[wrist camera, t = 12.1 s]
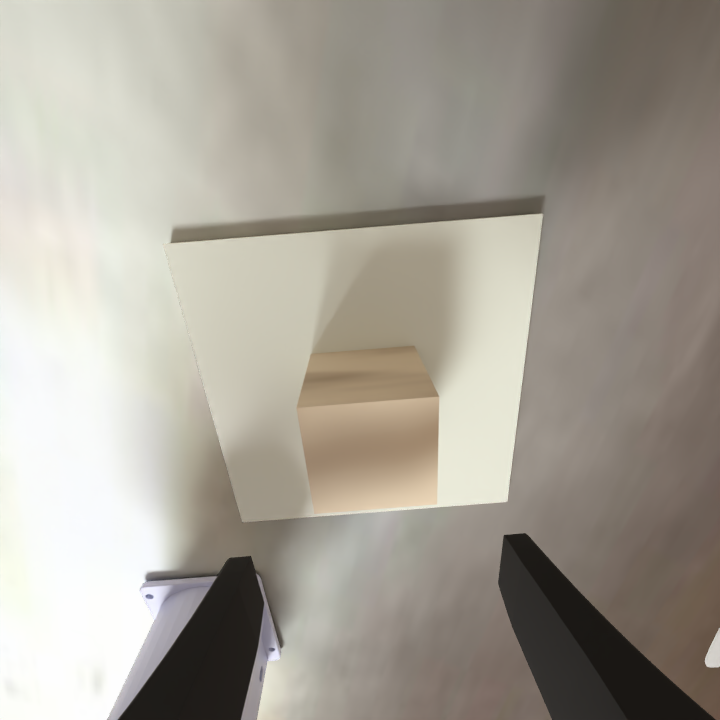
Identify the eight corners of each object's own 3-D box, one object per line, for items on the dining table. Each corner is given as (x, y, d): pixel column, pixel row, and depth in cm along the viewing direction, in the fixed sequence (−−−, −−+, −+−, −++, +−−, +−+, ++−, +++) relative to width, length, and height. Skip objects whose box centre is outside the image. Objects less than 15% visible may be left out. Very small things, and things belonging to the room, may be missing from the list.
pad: (503, 494, 21) (507, 501, 21) (245, 514, 21) (242, 522, 21) (536, 213, 15) (543, 213, 14) (169, 243, 15) (162, 244, 15)
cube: (415, 432, 19) (437, 504, 14) (322, 439, 19) (314, 513, 14) (414, 345, 17) (439, 396, 12) (310, 353, 17) (296, 407, 12)
